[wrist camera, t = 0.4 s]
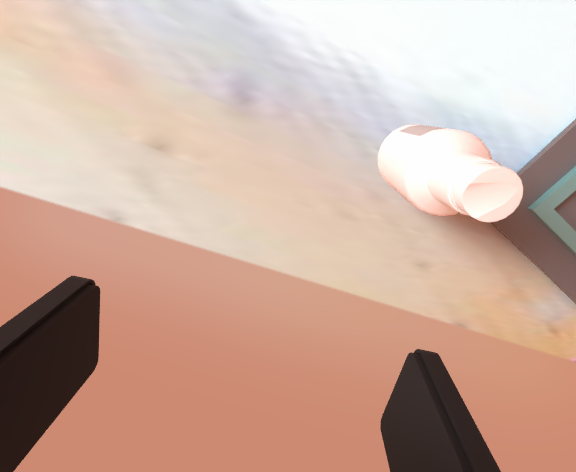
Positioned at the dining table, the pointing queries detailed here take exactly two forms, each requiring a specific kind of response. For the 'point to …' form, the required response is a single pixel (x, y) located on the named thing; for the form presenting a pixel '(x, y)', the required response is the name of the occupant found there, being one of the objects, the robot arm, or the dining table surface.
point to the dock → (548, 211)
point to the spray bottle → (448, 173)
